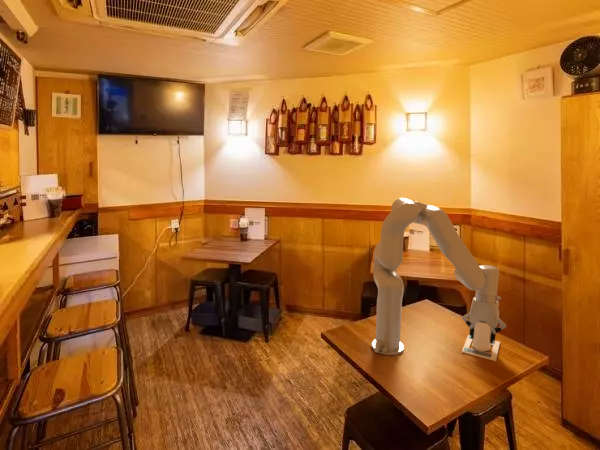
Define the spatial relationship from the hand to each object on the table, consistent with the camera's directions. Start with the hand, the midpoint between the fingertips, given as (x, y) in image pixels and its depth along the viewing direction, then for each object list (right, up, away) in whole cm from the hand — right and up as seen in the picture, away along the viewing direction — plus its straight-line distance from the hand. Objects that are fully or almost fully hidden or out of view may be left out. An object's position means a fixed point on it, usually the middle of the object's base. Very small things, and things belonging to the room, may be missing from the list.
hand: (481, 339), depth 151 cm
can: (0, -4, +1) cm, 4 cm away
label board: (0, -4, +1) cm, 4 cm away
